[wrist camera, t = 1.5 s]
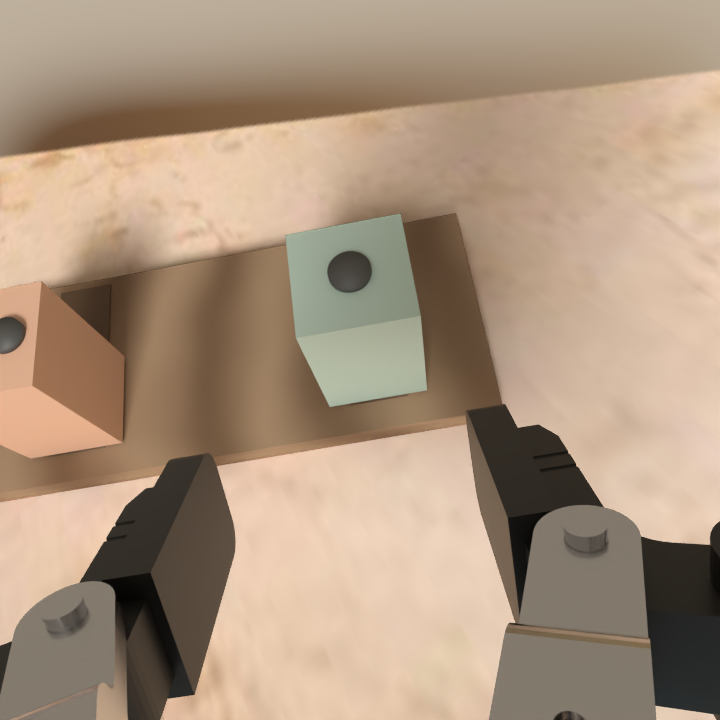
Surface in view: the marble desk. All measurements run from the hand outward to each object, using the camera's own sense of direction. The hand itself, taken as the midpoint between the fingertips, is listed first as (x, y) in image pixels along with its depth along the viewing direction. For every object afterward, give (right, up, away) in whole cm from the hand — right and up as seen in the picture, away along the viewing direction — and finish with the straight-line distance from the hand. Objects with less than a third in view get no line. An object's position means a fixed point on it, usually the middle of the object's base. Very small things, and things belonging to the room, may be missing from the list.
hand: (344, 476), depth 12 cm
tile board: (-7, +2, +24) cm, 25 cm away
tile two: (-15, 0, +22) cm, 27 cm away
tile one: (+1, +2, +21) cm, 22 cm away
